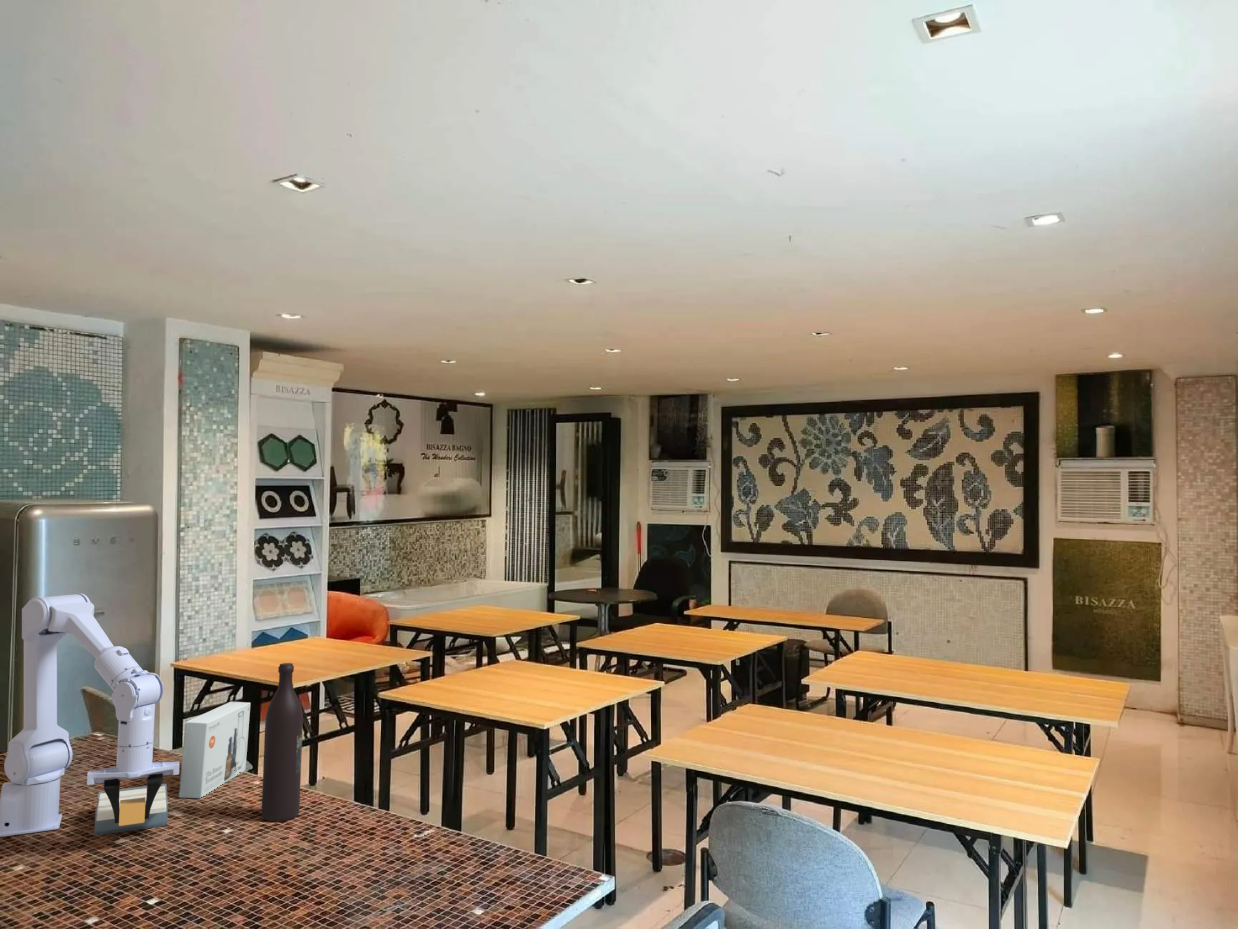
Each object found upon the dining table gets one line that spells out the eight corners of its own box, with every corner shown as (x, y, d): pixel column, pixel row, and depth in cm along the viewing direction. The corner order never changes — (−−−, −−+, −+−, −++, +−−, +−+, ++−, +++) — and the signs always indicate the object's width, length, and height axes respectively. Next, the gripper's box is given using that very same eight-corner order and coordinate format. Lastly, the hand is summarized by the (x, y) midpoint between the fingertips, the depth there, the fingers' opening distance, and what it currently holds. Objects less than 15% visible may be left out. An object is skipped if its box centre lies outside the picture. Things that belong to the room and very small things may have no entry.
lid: (95, 829, 152) (96, 808, 152) (99, 797, 168) (100, 779, 169) (166, 819, 158) (167, 799, 158) (164, 789, 174) (165, 771, 174)
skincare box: (203, 799, 181) (206, 722, 182) (177, 798, 182) (181, 722, 182) (248, 769, 202) (251, 701, 203) (225, 769, 203) (228, 700, 203)
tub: (94, 835, 160) (95, 813, 161) (97, 812, 173) (98, 791, 173) (167, 825, 166) (167, 804, 166) (165, 803, 178) (166, 783, 179)
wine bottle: (299, 820, 170) (305, 666, 172) (261, 824, 168) (267, 668, 169) (298, 808, 177) (304, 660, 179) (261, 812, 174) (267, 662, 176)
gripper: (87, 753, 150) (83, 833, 149) (181, 743, 157) (177, 820, 156) (89, 743, 156) (85, 820, 155) (179, 734, 163) (176, 808, 162)
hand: (131, 819), depth 156 cm, fingers closed on lid, 4 cm apart
